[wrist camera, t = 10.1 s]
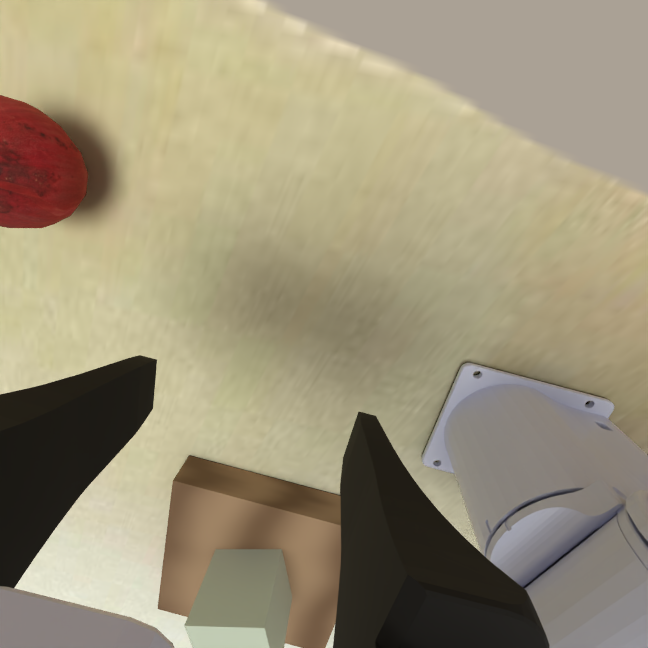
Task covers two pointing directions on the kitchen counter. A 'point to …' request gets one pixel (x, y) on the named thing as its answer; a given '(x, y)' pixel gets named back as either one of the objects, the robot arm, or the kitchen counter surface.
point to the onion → (37, 168)
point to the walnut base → (254, 540)
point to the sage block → (242, 601)
